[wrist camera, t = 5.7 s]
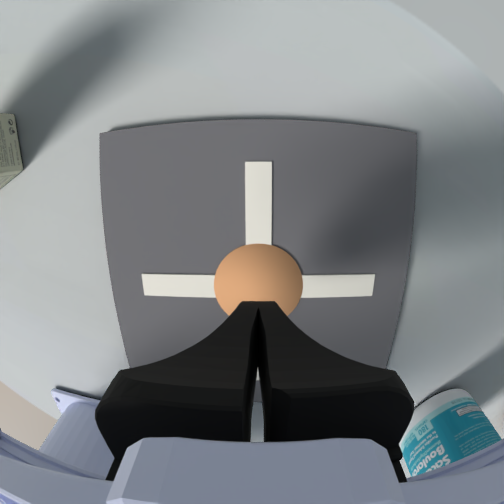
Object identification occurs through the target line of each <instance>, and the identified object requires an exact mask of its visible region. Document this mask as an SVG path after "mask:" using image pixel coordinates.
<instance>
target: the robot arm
mask: <svg viewBox="0 0 504 504" xmlns="http://www.w3.org/2000/svg"><path fill="white" fill-rule="evenodd" d="M257 371H258V372H259V381H260V389H261V397H262V406H263V416H264V442H250V439H251V416H252V407H253V400H254V393H255V386H256V378H257ZM51 394H52V396H53V398H54V400H55V402H56V404H57V406H58V408H59V410H60V412H61V414H62V415H61V417H60V418H59V420H58V421H57V423H56V424H55V426H54V427H53V429H52V430H51V432H50V433H49V435H48V436H47V438H46V439H45V441H44V442H43V444H42V446H41V447H40V449H39V450H36V449H34V448H32V447H29V446H28V445H26V444H24V443H22V442H20V441H18V440H16V439H14V438H12V437H10V436H9V435H7V434H5V433H3V432H2V431H1V429H0V504H504V439H502V440H500V441H498V442H497V443H495V444H493V445H491V446H489V447H487V448H485V449H483V450H480V451H478V452H476V453H474V454H472V455H470V456H467V457H465V458H463V459H460V460H458V461H455V462H453V463H450V464H448V465H445V466H443V467H440V468H437V469H434V470H431V471H429V472H426V473H423V474H419V475H416V476H413V477H410V478H406V477H405V474H404V471H403V469H402V466H401V464H400V461H399V460H401V459H402V457H403V453H402V451H401V448H400V446H399V443H400V441H401V439H402V437H403V435H404V433H405V431H406V430H407V428H408V426H409V423H410V421H411V419H412V416H413V413H414V401H413V399H412V397H411V396H410V394H409V392H408V390H407V388H406V386H405V384H404V383H403V381H402V380H401V378H400V377H399V376H398V374H397V373H396V371H392V370H388V369H383V368H379V367H374V366H370V365H366V364H363V363H360V362H357V361H355V360H352V359H349V358H347V357H344V356H342V355H340V354H338V353H336V352H334V351H332V350H330V349H328V348H326V347H324V346H322V345H321V344H319V343H318V342H316V341H315V340H313V339H312V338H310V337H309V336H308V335H306V334H305V333H304V332H303V331H302V330H301V329H299V328H298V327H297V326H296V325H295V324H294V323H293V322H292V321H291V320H290V319H289V318H288V316H287V315H286V314H285V313H284V312H283V310H282V309H281V308H280V307H279V305H278V304H277V303H276V302H275V301H242V302H240V303H239V305H238V306H237V307H236V309H235V310H234V311H233V312H232V313H231V314H230V316H229V317H228V318H227V319H226V320H225V321H224V322H223V323H222V324H221V325H220V326H219V327H218V328H217V329H215V330H214V331H213V332H212V333H211V334H210V335H208V336H207V337H206V338H204V339H203V340H201V341H200V342H198V343H197V344H195V345H193V346H191V347H189V348H187V349H185V350H183V351H181V352H179V353H177V354H175V355H173V356H170V357H168V358H165V359H163V360H160V361H157V362H154V363H150V364H147V365H142V366H138V367H134V368H129V369H124V370H120V371H119V372H118V374H117V375H116V376H115V378H114V379H113V380H112V382H111V384H110V385H109V387H108V389H107V390H106V392H105V394H104V395H103V397H102V399H101V400H96V399H92V398H88V397H84V396H80V395H76V394H73V393H69V392H65V391H62V390H59V389H55V388H53V389H52V391H51Z"/></svg>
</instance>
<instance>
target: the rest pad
mask: <svg viewBox="0 0 504 504" xmlns="http://www.w3.org/2000/svg"><path fill="white" fill-rule="evenodd" d="M416 167H417V136H416V133H413V132H407V131H401V130H395V129H389V128H382V127H374V126H366V125H357V124H348V123H337V122H324V121H308V120H283V119H235V120H210V121H194V122H181V123H170V124H160V125H152V126H143V127H136V128H129V129H122V130H116V131H110V132H104V133H100V182H101V200H102V213H103V224H104V234H105V243H106V251H107V258H108V265H109V272H110V278H111V284H112V290H113V296H114V301H115V306H116V311H117V316H118V321H119V325H120V330H121V334H122V338H123V343H124V347H125V351H126V355H127V358H128V362H129V366H130V368H134V367H138V366H142V365H147V364H150V363H154V362H157V361H160V360H163V359H165V358H168V357H170V356H173V355H175V354H177V353H179V352H181V351H183V350H185V349H187V348H189V347H191V346H193V345H195V344H197V343H198V342H200V341H201V340H203V339H204V338H206V337H207V336H208V335H210V334H211V333H212V332H213V331H214V330H215V329H217V328H218V327H219V326H220V325H221V324H222V323H223V322H224V321H225V320H226V319H227V318H228V317H229V316H230V314H231V313H232V312H233V311H234V310H235V309H236V307H237V306H238V305H239V303H240V302H242V301H275V302H276V303H277V304H278V305H279V307H280V308H281V309H282V310H283V312H284V313H285V314H286V315H287V316H288V318H289V319H290V320H291V321H292V322H293V323H294V324H295V325H296V326H297V327H298V328H299V329H301V330H302V331H303V332H304V333H305V334H306V335H308V336H309V337H310V338H312V339H313V340H315V341H316V342H318V343H319V344H321V345H322V346H324V347H326V348H328V349H330V350H332V351H334V352H336V353H338V354H340V355H342V356H344V357H347V358H349V359H352V360H355V361H357V362H360V363H363V364H366V365H370V366H374V367H379V368H383V369H386V366H387V362H388V358H389V355H390V351H391V347H392V343H393V339H394V335H395V331H396V327H397V322H398V318H399V313H400V308H401V303H402V298H403V293H404V288H405V282H406V276H407V270H408V263H409V256H410V248H411V240H412V231H413V221H414V209H415V193H416ZM253 402H262V397H261V389H260V381H259V372H258V371H257V378H256V386H255V393H254V400H253Z"/></svg>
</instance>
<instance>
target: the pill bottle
mask: <svg viewBox="0 0 504 504" xmlns="http://www.w3.org/2000/svg"><path fill="white" fill-rule="evenodd" d="M500 440H502V439H501V438H500V436H499V435H498V433H497V432H496V430H495V429H494V427H493V426H492V424H491V423H490V421H489V420H488V418H487V417H486V416H485V414H484V413H483V411H482V410H481V409H480V407H479V406H478V404H477V403H476V402H475V400H474V399H473V398H472V396H471V395H470V394H469V393H468V392H467V391H465V390H463V389H450V390H447V391H444V392H441V393H439V394H437V395H435V396H433V397H431V398H430V399H428V400H426V401H425V402H424V403H422V404H421V405H420V406H418V407H417V408H416V409H415V410H414V413H413V416H412V419H411V421H410V423H409V426H408V428H407V430H406V431H405V433H404V435H403V437H402V439H401V441H400V443H399V446H400V448H401V451H402V453H403V457H404V459H405V462H406V464H407V467H408V469H409V472H410V474H411V477H413V476H416V475H419V474H423V473H426V472H429V471H431V470H434V469H437V468H440V467H443V466H445V465H448V464H450V463H453V462H455V461H458V460H460V459H463V458H465V457H467V456H470V455H472V454H474V453H476V452H478V451H480V450H483V449H485V448H487V447H489V446H491V445H493V444H495V443H497V442H498V441H500Z"/></svg>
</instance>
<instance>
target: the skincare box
mask: <svg viewBox="0 0 504 504" xmlns="http://www.w3.org/2000/svg"><path fill="white" fill-rule="evenodd" d="M22 170H23V165H22V160H21V155H20V148H19V142H18V136H17V130H16V123H15V117H14V114H5V113H0V189H1V188H2V187H3V186H4V185H6V184H7V183H8V182H9V181H10V180H12V179H13V178H14V177H15V176H16V175H17V174H19V173H20V172H21V171H22Z"/></svg>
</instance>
